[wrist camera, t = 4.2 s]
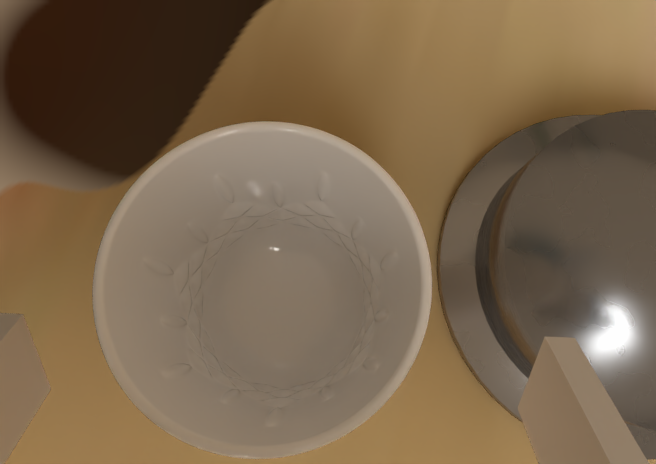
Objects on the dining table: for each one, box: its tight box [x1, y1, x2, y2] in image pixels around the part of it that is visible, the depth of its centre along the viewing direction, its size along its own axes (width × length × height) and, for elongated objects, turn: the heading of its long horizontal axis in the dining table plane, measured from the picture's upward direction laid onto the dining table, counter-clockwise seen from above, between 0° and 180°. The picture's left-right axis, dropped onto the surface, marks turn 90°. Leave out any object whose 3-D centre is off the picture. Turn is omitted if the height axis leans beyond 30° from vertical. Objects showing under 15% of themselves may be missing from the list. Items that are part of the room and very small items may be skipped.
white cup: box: [92, 121, 432, 459], centre depth 16 cm, size 8×8×10 cm
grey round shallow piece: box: [437, 110, 656, 459], centre depth 20 cm, size 15×15×4 cm
